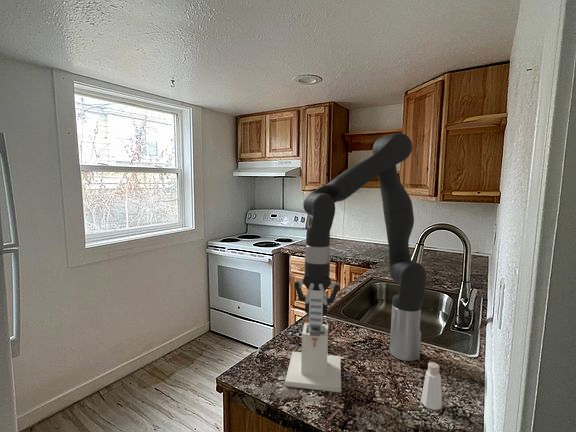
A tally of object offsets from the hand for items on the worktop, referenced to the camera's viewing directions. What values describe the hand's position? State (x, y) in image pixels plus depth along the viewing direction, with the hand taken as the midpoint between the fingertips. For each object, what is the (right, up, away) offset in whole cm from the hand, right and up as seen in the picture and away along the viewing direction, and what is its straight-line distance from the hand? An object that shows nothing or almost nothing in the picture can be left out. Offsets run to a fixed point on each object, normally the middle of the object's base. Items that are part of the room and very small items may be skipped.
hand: (315, 314), depth 92 cm
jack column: (0, -14, +1) cm, 14 cm away
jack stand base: (0, -19, +2) cm, 19 cm away
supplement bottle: (+1, -17, +22) cm, 28 cm away
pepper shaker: (+30, -21, -11) cm, 38 cm away
